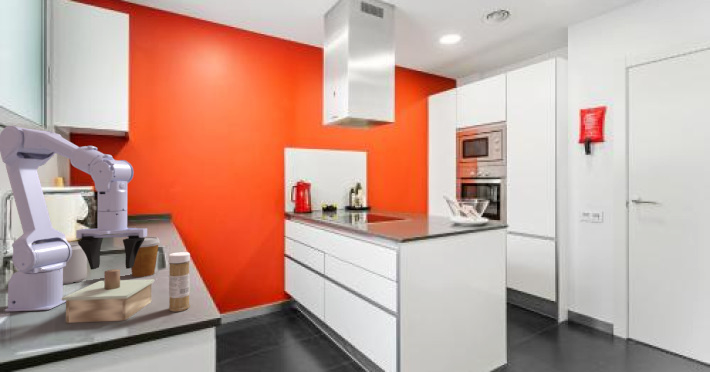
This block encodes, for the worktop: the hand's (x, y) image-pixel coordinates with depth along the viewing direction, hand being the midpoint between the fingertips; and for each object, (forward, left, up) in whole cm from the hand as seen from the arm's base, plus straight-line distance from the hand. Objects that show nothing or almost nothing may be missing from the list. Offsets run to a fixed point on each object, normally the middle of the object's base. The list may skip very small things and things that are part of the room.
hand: (112, 268), depth 79 cm
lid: (0, 0, -5) cm, 5 cm away
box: (0, 0, -10) cm, 10 cm away
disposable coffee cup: (-9, +34, -10) cm, 37 cm away
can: (-27, +28, -10) cm, 40 cm away
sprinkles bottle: (+15, 0, -10) cm, 18 cm away
